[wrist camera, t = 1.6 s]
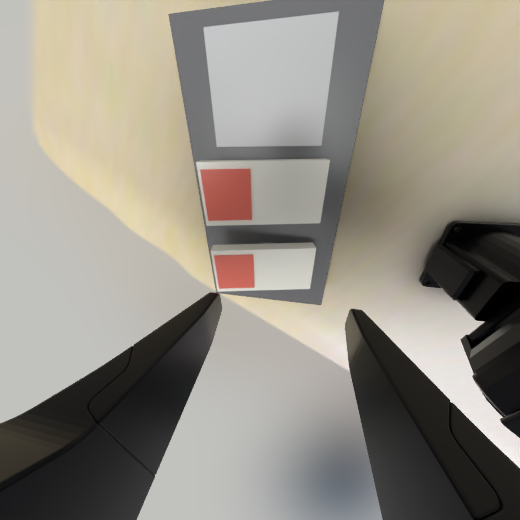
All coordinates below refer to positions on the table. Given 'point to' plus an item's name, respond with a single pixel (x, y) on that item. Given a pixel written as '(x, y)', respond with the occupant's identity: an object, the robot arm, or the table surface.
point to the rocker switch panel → (278, 103)
